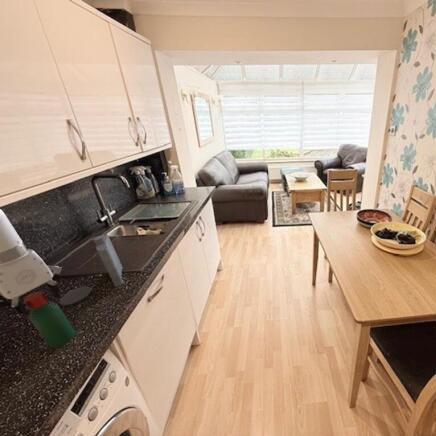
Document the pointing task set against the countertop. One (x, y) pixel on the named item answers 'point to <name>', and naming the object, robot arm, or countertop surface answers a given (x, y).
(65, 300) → the coaster
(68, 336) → the bottle
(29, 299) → the cap
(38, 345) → the countertop surface
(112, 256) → the grey flat block
